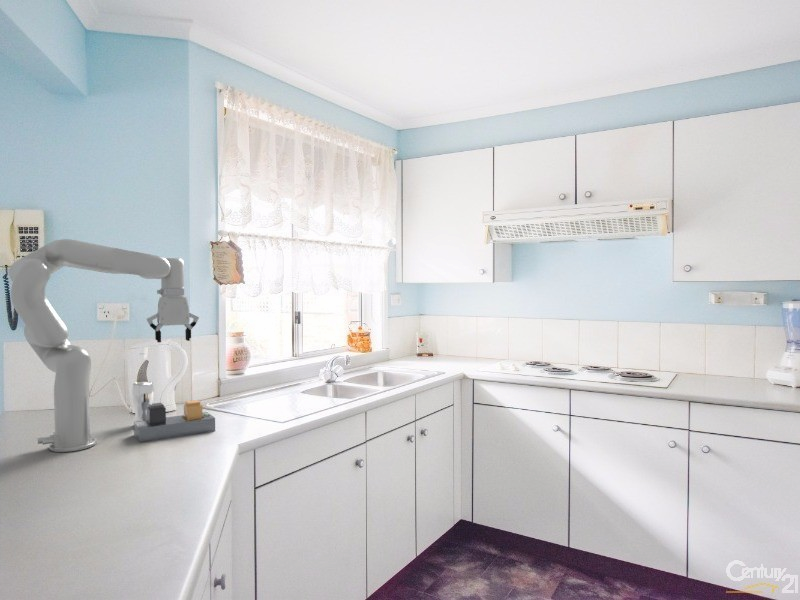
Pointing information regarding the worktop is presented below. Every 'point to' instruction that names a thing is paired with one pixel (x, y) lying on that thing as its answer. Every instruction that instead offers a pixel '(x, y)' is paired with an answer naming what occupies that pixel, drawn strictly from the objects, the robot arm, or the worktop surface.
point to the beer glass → (142, 399)
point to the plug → (192, 410)
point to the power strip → (170, 424)
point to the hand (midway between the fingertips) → (173, 341)
